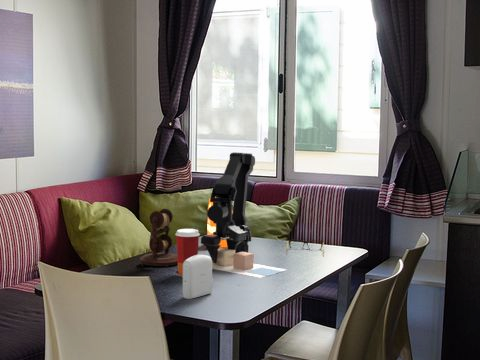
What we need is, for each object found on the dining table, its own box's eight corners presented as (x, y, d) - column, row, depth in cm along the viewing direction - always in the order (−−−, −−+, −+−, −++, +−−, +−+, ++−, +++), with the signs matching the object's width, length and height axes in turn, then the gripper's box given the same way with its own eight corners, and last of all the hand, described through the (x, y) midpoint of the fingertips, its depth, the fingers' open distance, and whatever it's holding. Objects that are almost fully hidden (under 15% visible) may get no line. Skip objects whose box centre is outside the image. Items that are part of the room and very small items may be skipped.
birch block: (211, 264, 266) (211, 250, 266) (221, 261, 271) (222, 247, 271) (224, 266, 263) (224, 252, 262) (235, 264, 268) (235, 250, 267)
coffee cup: (203, 272, 257) (203, 229, 256) (193, 277, 250) (194, 233, 248) (180, 270, 260) (180, 227, 259) (170, 275, 252) (171, 231, 251)
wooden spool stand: (151, 259, 277) (152, 205, 275) (188, 263, 272) (188, 208, 270) (132, 267, 263) (132, 211, 261) (170, 271, 258) (170, 214, 256)
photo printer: (190, 300, 222) (191, 258, 221) (180, 297, 225) (180, 256, 223) (214, 293, 230) (214, 253, 228) (203, 291, 232) (204, 251, 231)
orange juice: (207, 244, 309) (207, 195, 307) (228, 243, 311) (228, 195, 309) (210, 247, 302) (211, 198, 300) (232, 247, 304) (233, 198, 302)
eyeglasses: (323, 250, 303) (323, 240, 302) (323, 257, 289) (323, 247, 288) (287, 249, 304) (288, 239, 304) (286, 256, 290) (286, 246, 290)
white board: (199, 268, 263) (199, 265, 263) (228, 261, 276) (228, 258, 276) (261, 280, 247) (261, 277, 247) (288, 272, 260) (288, 269, 260)
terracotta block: (233, 267, 261) (233, 253, 261) (241, 265, 265) (242, 251, 265) (244, 270, 258) (244, 255, 258) (253, 267, 262) (253, 253, 261)
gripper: (225, 223, 253) (224, 269, 255) (258, 217, 268) (257, 260, 269) (200, 219, 260) (199, 264, 261) (233, 214, 275) (232, 256, 276)
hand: (223, 261), depth 267 cm, fingers open, 9 cm apart
